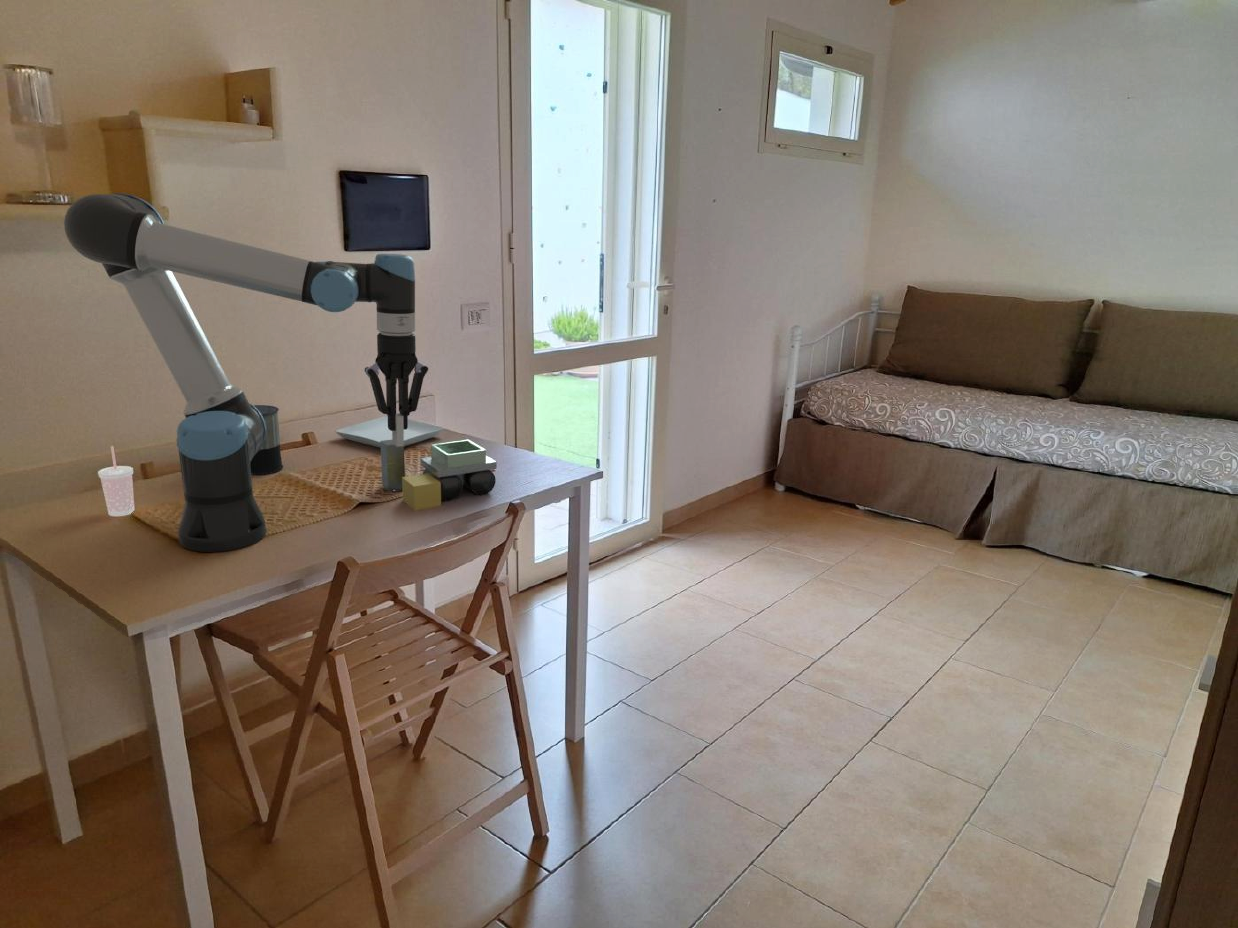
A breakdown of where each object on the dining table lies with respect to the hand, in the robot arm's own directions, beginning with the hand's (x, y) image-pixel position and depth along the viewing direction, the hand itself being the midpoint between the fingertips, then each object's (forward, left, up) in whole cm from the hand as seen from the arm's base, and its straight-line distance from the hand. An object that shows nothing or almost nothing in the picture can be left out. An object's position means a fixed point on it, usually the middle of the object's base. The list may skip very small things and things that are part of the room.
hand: (398, 444), depth 174 cm
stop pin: (+3, +12, -14) cm, 18 cm away
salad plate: (+16, +51, -15) cm, 55 cm away
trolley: (+15, +3, -14) cm, 21 cm away
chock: (+5, 0, -14) cm, 15 cm away
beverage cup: (-50, +23, -14) cm, 57 cm away
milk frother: (-23, +40, -14) cm, 48 cm away
